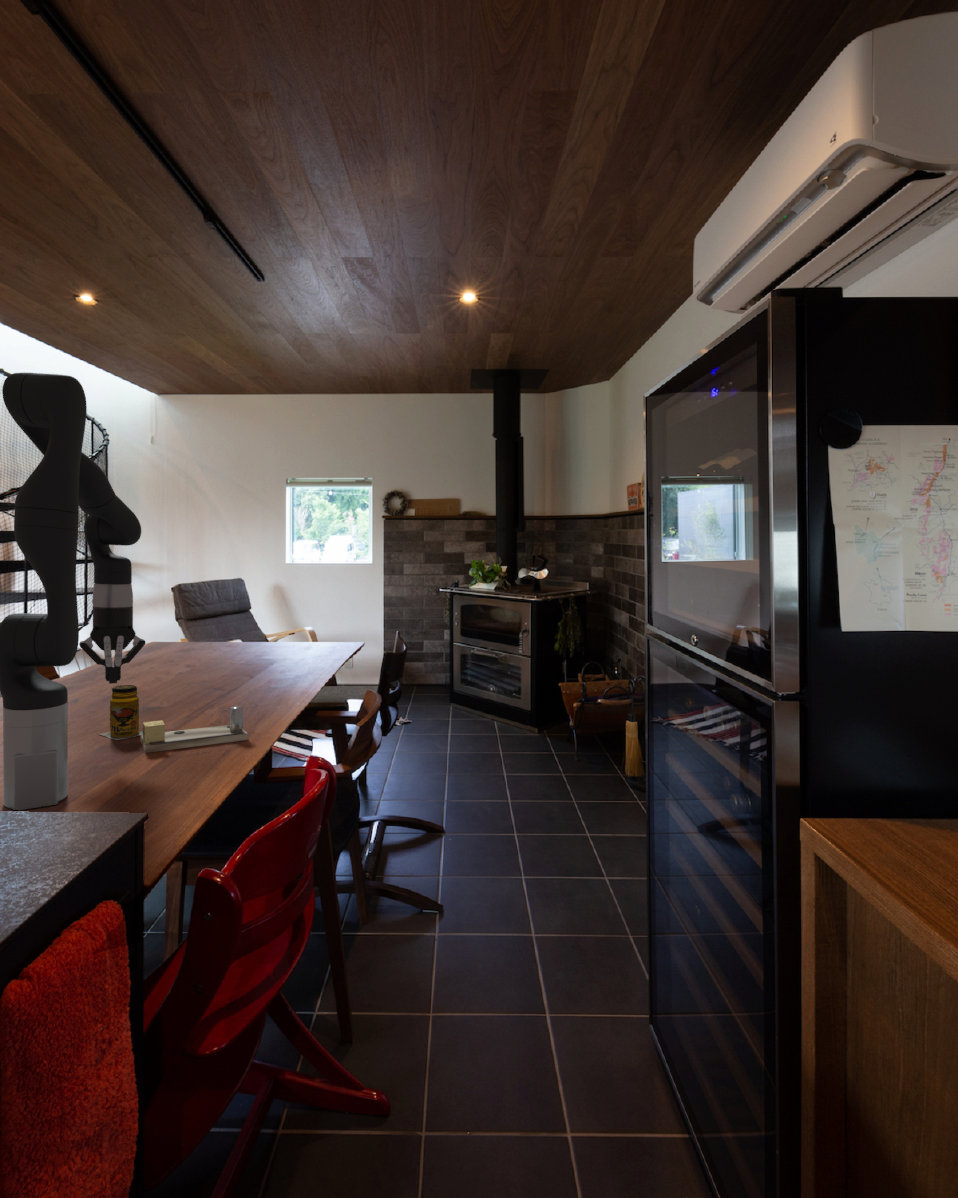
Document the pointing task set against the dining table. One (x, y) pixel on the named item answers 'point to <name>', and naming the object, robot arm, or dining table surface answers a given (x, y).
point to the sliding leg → (153, 732)
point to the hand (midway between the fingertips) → (113, 682)
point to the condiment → (124, 713)
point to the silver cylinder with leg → (236, 719)
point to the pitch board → (195, 738)
